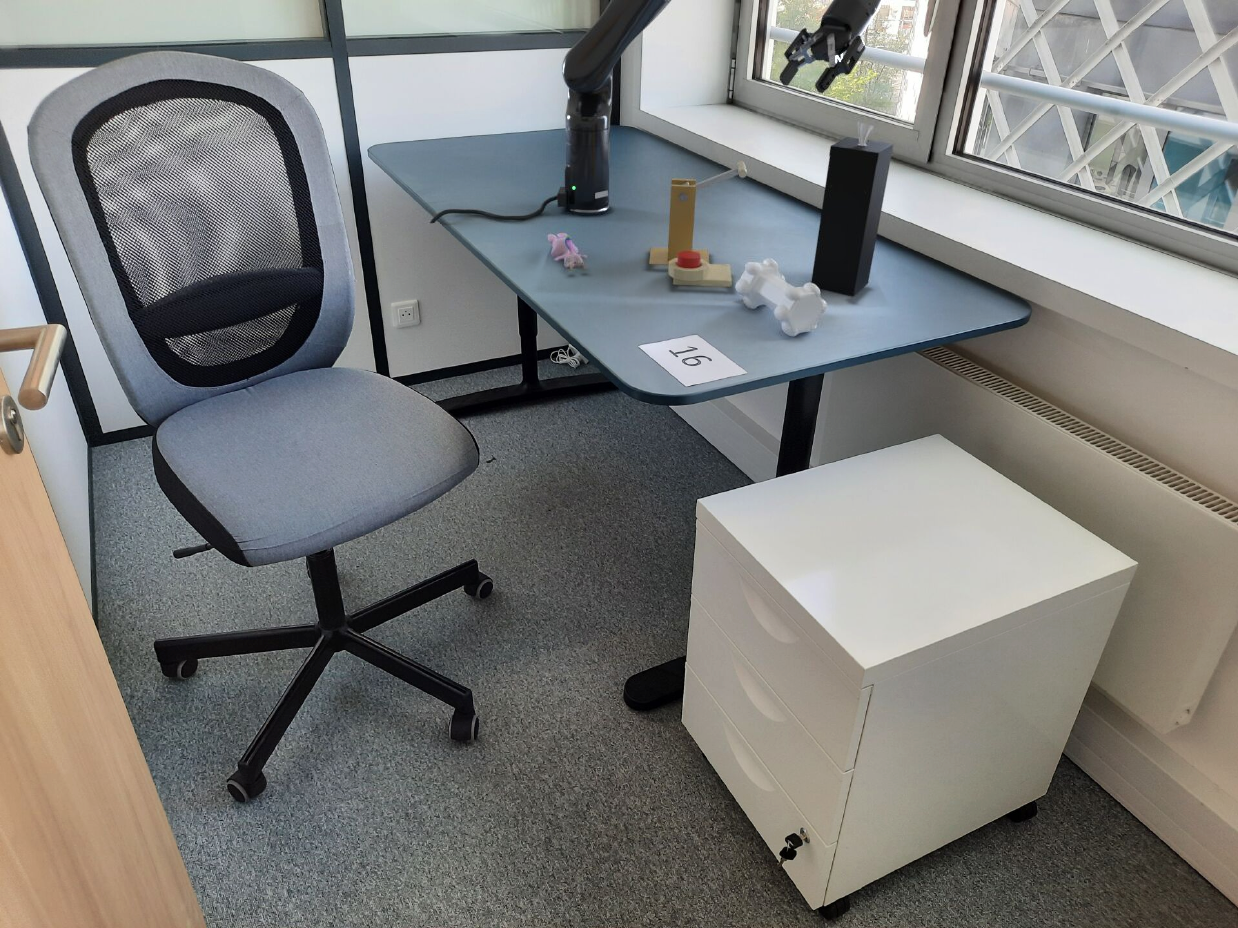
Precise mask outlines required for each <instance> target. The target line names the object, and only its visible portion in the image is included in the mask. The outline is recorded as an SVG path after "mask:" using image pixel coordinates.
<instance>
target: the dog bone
mask: <svg viewBox="0 0 1238 928" xmlns="http://www.w3.org/2000/svg"><path fill="white" fill-rule="evenodd" d="M735 290H736V292H737V293H738V294H739V295H742V302H743V304H744V305H745V306H746V308H748V309H751V310H755V309H757V308H758V307H759V306H766V307H767V308H769V309H771V310H772V311H773V315H774V317H775V319H777V320H778V321H779V322H781V329H782V331H783V332H784V334H786V335H787V336H789V337H796V336H797V335H798V334H801V333H811V332H814V331H815V330H816V329H817V324H818V323H819V321H820V320H821V318H822V316H823V315H824V314H825V313H826V312H827V310H828V303H827V302H826V300H824V299H823V298H822V297H821V289H819V288H818V287H817V286H816V285H815V284H813V283H811V282H806V283H804V284H803V285H802V286H797V287H796V286H793V285H792V284H790V283H789V282H787V281H786V278H785V276H784V275H783V274H781V273H780V271H779V264H778V263H777V261H776V260H774V259H773V258H770V257H767V258H765V259H764V260H763V261H759V262H755V261H749V262H747V263H746V264H745V265H744V271H743V273H742V274H741V277H740V278H739V279H738V280H737V281H736V282H735Z"/></svg>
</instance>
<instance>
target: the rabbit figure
mask: <svg viewBox="0 0 1238 928" xmlns="http://www.w3.org/2000/svg"><path fill="white" fill-rule="evenodd" d="M547 240H548V243H549V244H550V245H551V246H552V249H551V253H550V254H551V255H552V256H553V257H554V259H553V261H554V262H558V261H560V260H563V266H564V267H565V268H566V269H570V271H571V272H572V271H573V268H575V267H577V268H583V270H586V264H585V262H584V260H583V259H587V258H588V256H587V255H586V254H580V253H578V252H579V249H578V247H577V246H576V245H575V244H574V243H573V240H572V237H571V235H568V233H566V232H560V233H559V232H558V233H557V236H556V235H555V234H552V233H549V234H547ZM582 258H583V259H582Z"/></svg>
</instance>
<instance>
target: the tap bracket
mask: <svg viewBox="0 0 1238 928" xmlns="http://www.w3.org/2000/svg"><path fill="white" fill-rule="evenodd" d="M687 182H688V183H689V185H682V184H684V183H687ZM670 183H671V184H670V198H669V199H670V201H669V202H670V203H669V204H670V205H669V220H668V240H667V247H652V246H651V247H650V251H649V259H648V260H649V261H648V264H649V265H655V266H656V265H657V266H669V261H671V260H672V259H674V258H678V253H679V252H682V251H695V252H698V253H700V254H701V259H703V260H705V261H706V262H708V263H709V264H710V255H709V254H710V253H709V249H703V248H702V249H701V248H700V249H699V248H698V249H697V248H693V245H694V242H693V241H694V227H695V214H696V200H697V199H696V195H697V191H696V185H694V184H697V179H695V178H671V182H670Z"/></svg>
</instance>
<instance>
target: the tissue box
mask: <svg viewBox="0 0 1238 928" xmlns="http://www.w3.org/2000/svg"><path fill="white" fill-rule="evenodd" d="M876 129H877V126H873V125H871V124H869V123H863V122H861V121H857V137H850V136H847V137H845V138H843V139H841V140H839V141H838V142H835V143H833V144H831V145H830V149H829V154H828V156H829V159H828V164H827V172H826V177H825V186H824V191H823V193H824V194H823V198H822V199H823V200H822V207H821V212H820V220H819V226H818V233H817V239H816V240H817V241H816V247H815V255H814V260H813V261H814V262H813V267H812V275H811V282H810V283H813V284H815V285H816V286H817V287H818V288H819V290H820V291H821V290H822V291H826V292H830V293H835V294H839V295H844V296H847V297H855V296H856V295H857V294H858V293H859V292H860V291H861V290H863V289H864V287H866V286H867V285H868V284H869V280H870V275H871V269H872V264H873V258H874V255H875V254H874V253H875V249H876V248H875V247H876V241H877V238H878V237H877V236H878V231H879V225H880V220H881V215H882V210H883V204H884V197H885V192H886V187H887V183H888V176H889V170H890V165H891V160H892V154H893V153H894V152H893V151H894V146H895V145H894V143H893V142H886V141H878V140H871V139H870V138H871V136H872V134H873V133H874V132H875V130H876Z"/></svg>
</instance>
